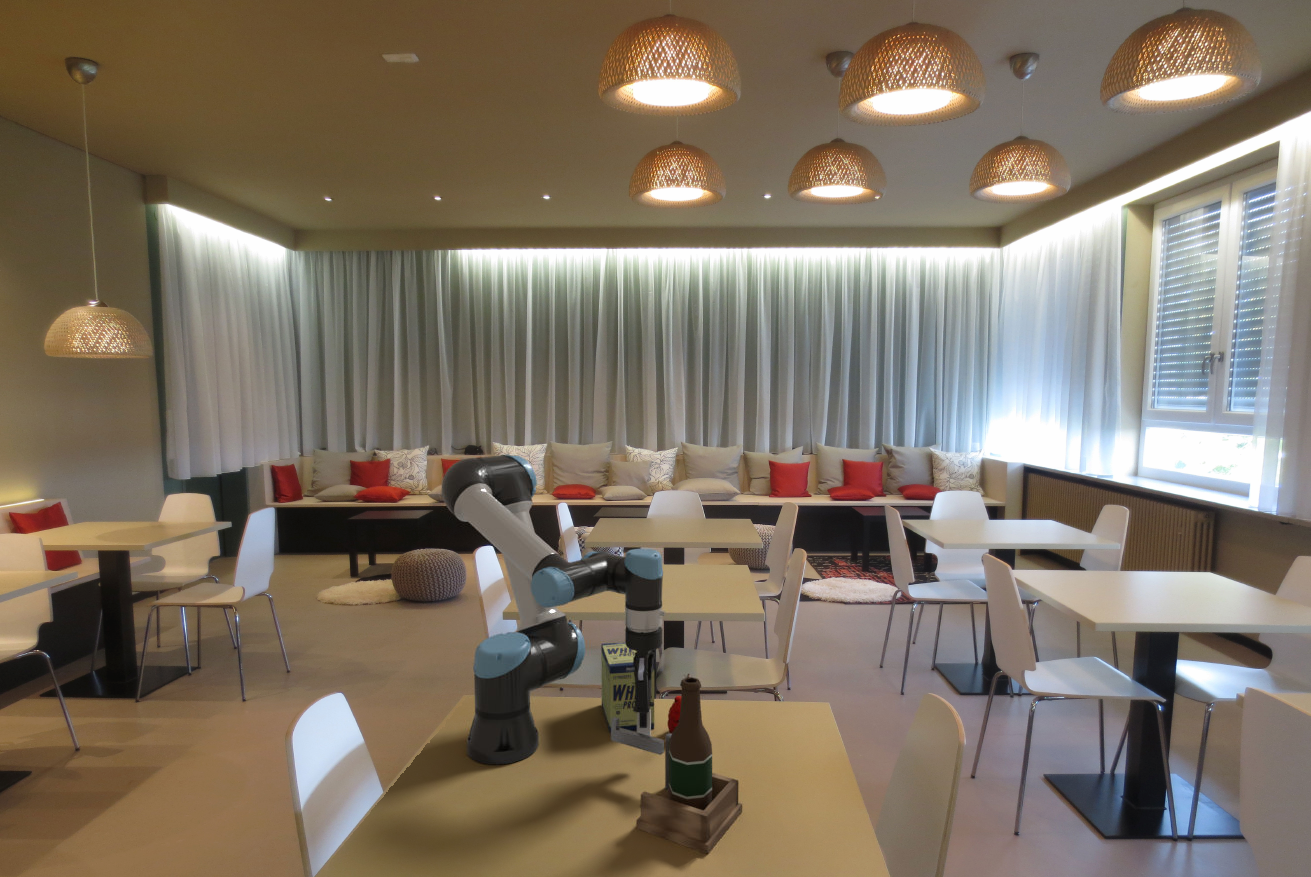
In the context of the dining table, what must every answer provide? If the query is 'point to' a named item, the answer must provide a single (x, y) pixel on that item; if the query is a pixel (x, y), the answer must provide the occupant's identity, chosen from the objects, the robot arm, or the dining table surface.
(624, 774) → the dining table surface
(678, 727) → the beer bottle
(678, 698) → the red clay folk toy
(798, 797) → the dining table surface
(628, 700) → the protein box
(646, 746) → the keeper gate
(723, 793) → the wooden crate
